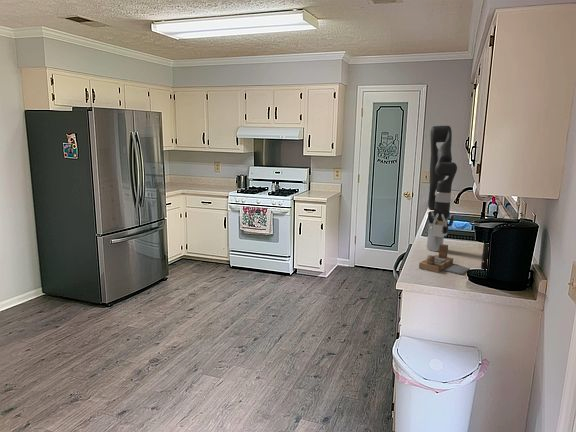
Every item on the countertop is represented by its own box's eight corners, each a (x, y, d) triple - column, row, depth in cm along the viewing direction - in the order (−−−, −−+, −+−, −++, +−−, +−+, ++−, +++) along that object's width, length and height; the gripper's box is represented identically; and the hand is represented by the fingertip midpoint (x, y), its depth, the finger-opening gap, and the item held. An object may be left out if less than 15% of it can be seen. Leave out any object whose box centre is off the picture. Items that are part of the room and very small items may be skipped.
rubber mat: (452, 266, 229) (452, 264, 229) (469, 269, 224) (470, 268, 223) (444, 271, 220) (444, 269, 220) (462, 275, 215) (462, 273, 214)
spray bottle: (477, 267, 229) (482, 221, 224) (496, 268, 228) (502, 222, 224) (485, 273, 219) (491, 225, 214) (505, 274, 218) (511, 226, 214)
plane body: (435, 259, 240) (436, 242, 238) (453, 263, 234) (454, 245, 232) (418, 268, 224) (420, 249, 222) (437, 272, 217) (439, 253, 215)
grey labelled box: (437, 233, 230) (438, 220, 229) (447, 234, 227) (448, 221, 226) (431, 235, 224) (433, 222, 223) (441, 237, 221) (442, 224, 220)
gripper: (459, 201, 221) (456, 233, 224) (432, 198, 230) (429, 229, 233) (454, 203, 215) (450, 236, 218) (426, 199, 224) (423, 231, 227)
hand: (439, 232), depth 225 cm, fingers closed on grey labelled box, 5 cm apart
